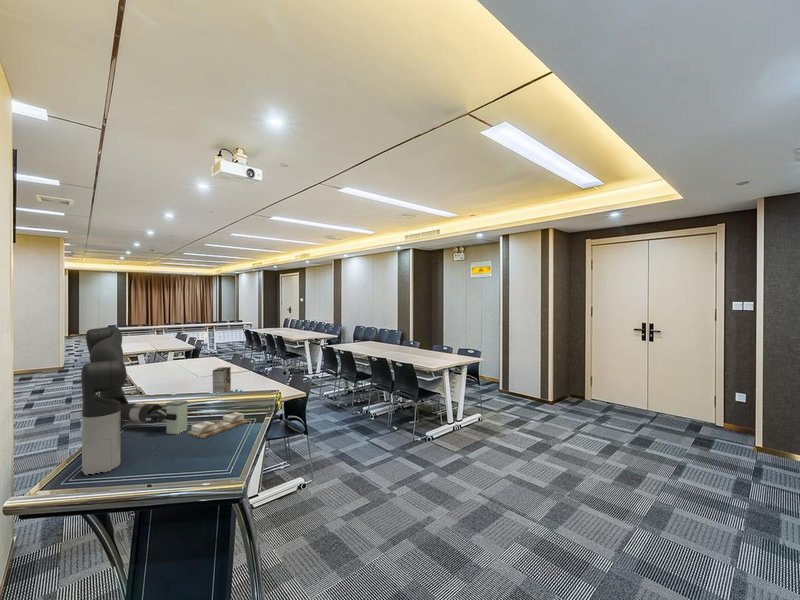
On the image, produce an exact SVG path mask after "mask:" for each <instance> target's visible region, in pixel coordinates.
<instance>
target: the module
mask: <svg viewBox="0 0 800 600" xmlns="http://www.w3.org/2000/svg"><path fill="white" fill-rule="evenodd" d="M166 408H167V414H176V416H177V419H176V420H166V434H168V435H169V434H170V435H180V434H181V432H182V433H184V432H183V431H185V432H187V431H188V400H183V399H182V400H180V399H179V400H178V399H175V400H172V401H168V402H166ZM186 430H187V431H186ZM179 433H180V434H179Z"/></svg>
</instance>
